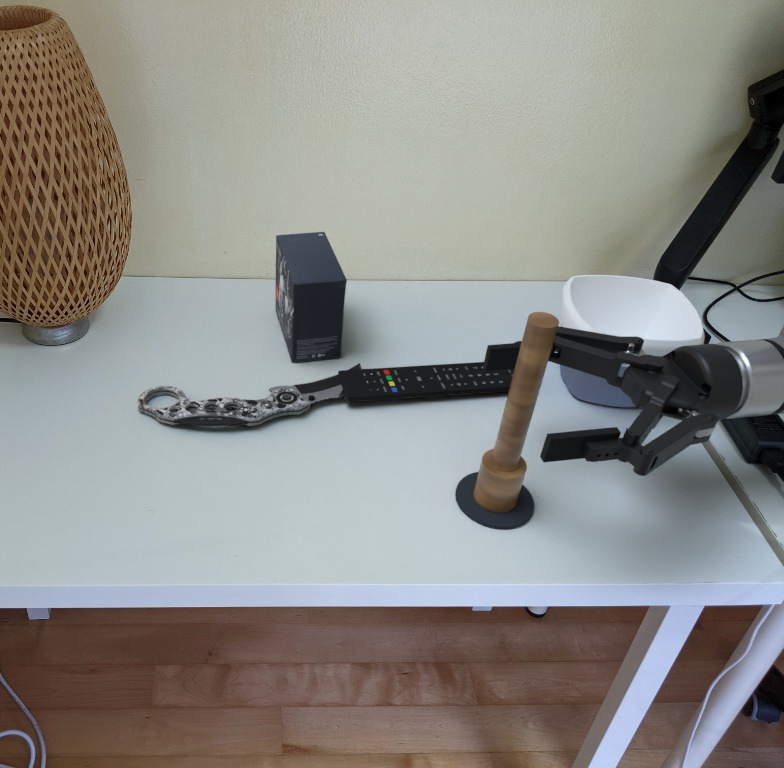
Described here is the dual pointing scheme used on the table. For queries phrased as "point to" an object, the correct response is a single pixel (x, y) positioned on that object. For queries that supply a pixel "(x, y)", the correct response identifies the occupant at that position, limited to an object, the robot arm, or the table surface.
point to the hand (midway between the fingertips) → (513, 400)
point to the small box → (309, 296)
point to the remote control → (422, 381)
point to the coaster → (488, 518)
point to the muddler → (516, 419)
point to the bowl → (625, 324)
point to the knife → (241, 404)
